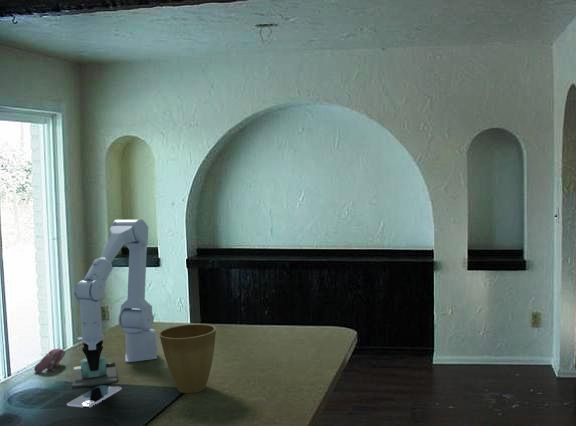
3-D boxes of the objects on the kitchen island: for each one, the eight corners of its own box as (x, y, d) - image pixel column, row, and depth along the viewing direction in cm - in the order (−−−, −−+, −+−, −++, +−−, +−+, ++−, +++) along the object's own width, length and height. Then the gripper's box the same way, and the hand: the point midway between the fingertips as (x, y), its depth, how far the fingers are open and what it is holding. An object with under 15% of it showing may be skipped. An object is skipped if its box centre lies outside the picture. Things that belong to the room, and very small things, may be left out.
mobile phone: (123, 386, 181) (89, 405, 167) (123, 389, 181) (89, 409, 167) (99, 384, 183) (64, 403, 169) (100, 387, 183) (64, 407, 169)
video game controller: (44, 378, 198) (53, 358, 197) (32, 371, 198) (40, 351, 197) (62, 368, 208) (70, 348, 206) (49, 361, 208) (57, 342, 207)
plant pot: (211, 376, 187) (208, 321, 186) (225, 392, 173) (221, 332, 172) (158, 385, 182) (155, 327, 181) (168, 402, 168) (164, 340, 167)
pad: (116, 369, 198) (116, 368, 198) (117, 382, 186) (116, 380, 186) (74, 375, 194) (74, 373, 194) (72, 387, 183) (72, 385, 183)
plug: (115, 370, 194) (114, 355, 193) (115, 374, 190) (114, 358, 189) (74, 375, 191) (73, 360, 190) (74, 379, 187) (73, 364, 186)
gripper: (77, 317, 195) (80, 363, 196) (75, 329, 181) (79, 377, 182) (102, 315, 197) (105, 360, 198) (102, 326, 183) (105, 374, 184)
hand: (94, 368), depth 190 cm, fingers closed on plug, 4 cm apart
